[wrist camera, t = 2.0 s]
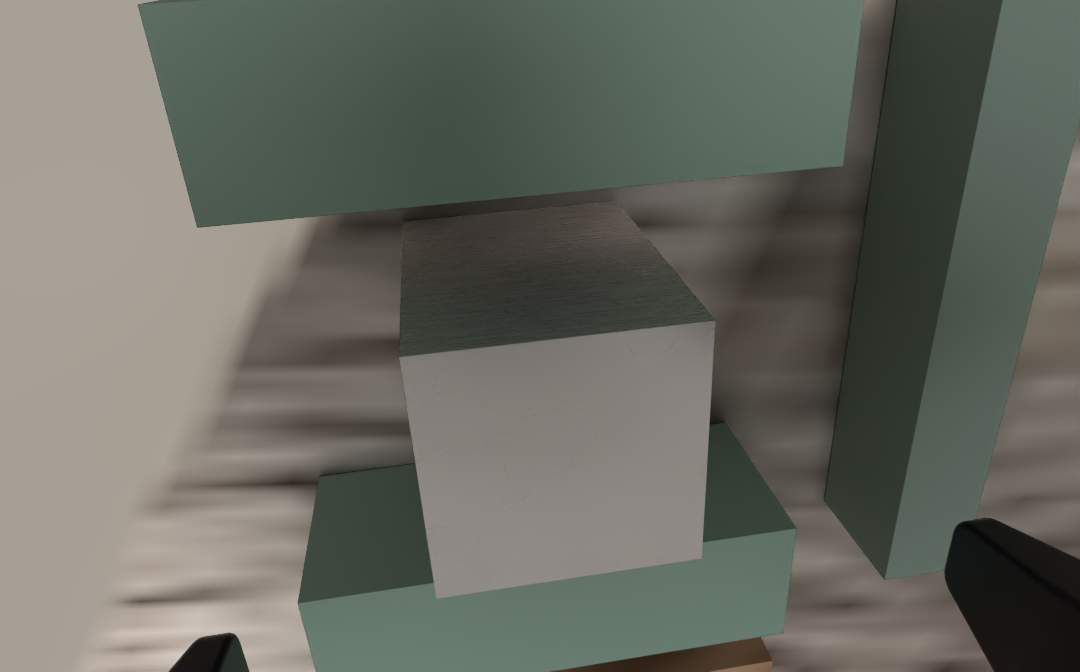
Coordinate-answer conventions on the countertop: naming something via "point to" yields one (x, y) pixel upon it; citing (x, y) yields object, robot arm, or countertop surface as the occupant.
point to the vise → (642, 159)
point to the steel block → (552, 396)
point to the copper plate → (694, 660)
